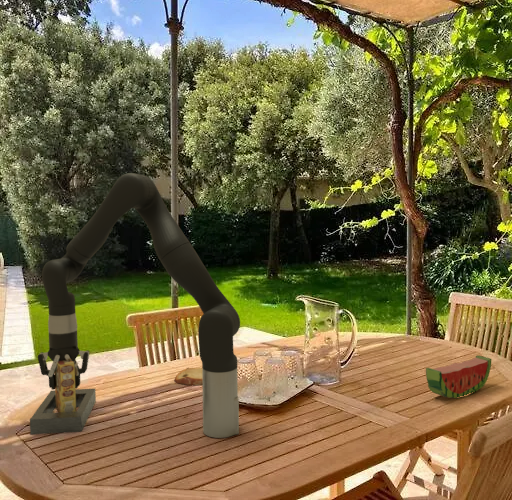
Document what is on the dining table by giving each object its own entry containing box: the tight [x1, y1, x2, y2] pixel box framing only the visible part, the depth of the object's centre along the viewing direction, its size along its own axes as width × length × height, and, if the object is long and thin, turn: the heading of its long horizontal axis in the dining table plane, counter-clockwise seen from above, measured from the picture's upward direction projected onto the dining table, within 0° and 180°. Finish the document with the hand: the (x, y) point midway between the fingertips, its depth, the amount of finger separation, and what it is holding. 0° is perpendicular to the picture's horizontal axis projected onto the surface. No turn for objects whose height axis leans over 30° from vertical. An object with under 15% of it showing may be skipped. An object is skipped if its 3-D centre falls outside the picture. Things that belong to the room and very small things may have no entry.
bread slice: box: [173, 367, 203, 387], centre depth 181 cm, size 18×18×4 cm
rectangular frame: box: [29, 388, 97, 435], centre depth 149 cm, size 13×22×4 cm, turn 8°
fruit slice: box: [425, 355, 492, 399], centre depth 165 cm, size 26×6×10 cm, turn 123°
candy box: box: [54, 361, 77, 412], centre depth 148 cm, size 9×4×15 cm, turn 32°
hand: (65, 387), depth 148 cm, fingers closed on candy box, 5 cm apart
